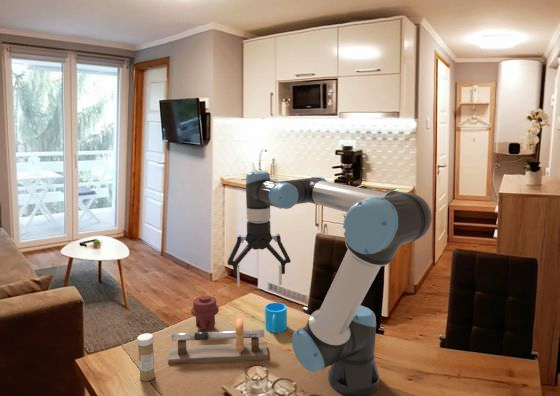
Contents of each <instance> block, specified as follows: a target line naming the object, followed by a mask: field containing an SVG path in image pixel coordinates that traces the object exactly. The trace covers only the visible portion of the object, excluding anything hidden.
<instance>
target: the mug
mask: <svg viewBox="0 0 560 396" xmlns="http://www.w3.org/2000/svg"><path fill="white" fill-rule="evenodd" d="M287 307H288V306H287V305H286V304H285V303H281V302H270V303H267V304H265V307H264V320H265V321H264V322H265V323H264V327H265V329H264V330H266V331H268V332H269V333H274V334H275V333H283V332H285V330H287V328H288V327H287V325H288V324H287V323H288V321H287V319H288V314H287V313H288V309H287Z"/></svg>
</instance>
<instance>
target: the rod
mask: <svg viewBox="0 0 560 396" xmlns="http://www.w3.org/2000/svg"><path fill="white" fill-rule="evenodd" d="M243 338H244V339H251V338H265V329H252V330H251V329H249V330H243ZM233 339H235V340H236V330H226V331H225V330H223V331H202V332H199V331H197V332H177V333H176V332H175V333H172V335H171V341H172V342H178V341H186V342H187V341H208V340H209V341H210V340H233Z"/></svg>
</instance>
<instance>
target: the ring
mask: <svg viewBox="0 0 560 396" xmlns="http://www.w3.org/2000/svg"><path fill="white" fill-rule="evenodd" d="M235 331H236V339H235V342H236V343H235V344H236V350H237V351H238V352H242V351H243V349H244V344H245V343H244V339H245V338H243V331H244V319H243V318H241V317H238V318H236V320H235Z"/></svg>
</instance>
